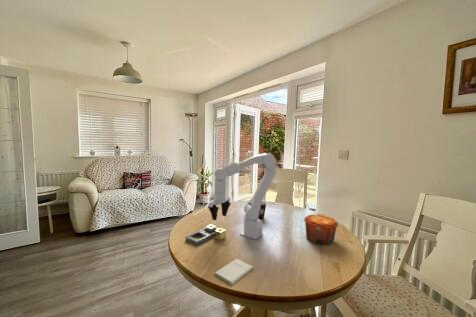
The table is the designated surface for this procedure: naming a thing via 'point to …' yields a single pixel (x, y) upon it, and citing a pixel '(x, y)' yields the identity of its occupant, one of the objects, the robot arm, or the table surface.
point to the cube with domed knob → (210, 228)
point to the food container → (320, 229)
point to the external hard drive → (233, 271)
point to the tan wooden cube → (220, 234)
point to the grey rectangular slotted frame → (202, 234)
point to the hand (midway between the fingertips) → (219, 217)
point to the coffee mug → (262, 210)
